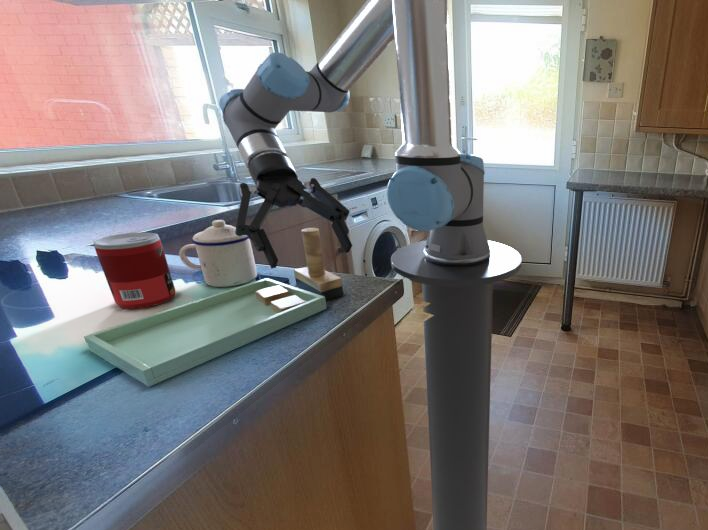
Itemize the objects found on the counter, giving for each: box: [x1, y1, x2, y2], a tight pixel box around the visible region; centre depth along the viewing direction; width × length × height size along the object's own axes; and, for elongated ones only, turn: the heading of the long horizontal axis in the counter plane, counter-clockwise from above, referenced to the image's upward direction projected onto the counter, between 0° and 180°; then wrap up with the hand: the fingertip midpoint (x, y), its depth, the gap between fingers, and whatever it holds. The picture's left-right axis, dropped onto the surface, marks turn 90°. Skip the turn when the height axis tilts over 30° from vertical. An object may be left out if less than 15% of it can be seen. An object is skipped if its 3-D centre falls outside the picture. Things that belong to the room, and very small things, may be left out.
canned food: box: [93, 231, 176, 310], centre depth 68 cm, size 8×8×11 cm
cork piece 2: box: [270, 295, 306, 314], centre depth 67 cm, size 4×4×2 cm
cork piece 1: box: [255, 285, 290, 306], centre depth 71 cm, size 4×4×2 cm
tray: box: [83, 277, 327, 388], centre depth 62 cm, size 26×16×2 cm, turn 152°
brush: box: [293, 227, 344, 302], centre depth 75 cm, size 4×10×12 cm, turn 51°
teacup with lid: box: [178, 219, 258, 288], centre depth 77 cm, size 12×9×12 cm
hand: (314, 256), depth 76 cm, fingers open, 13 cm apart
